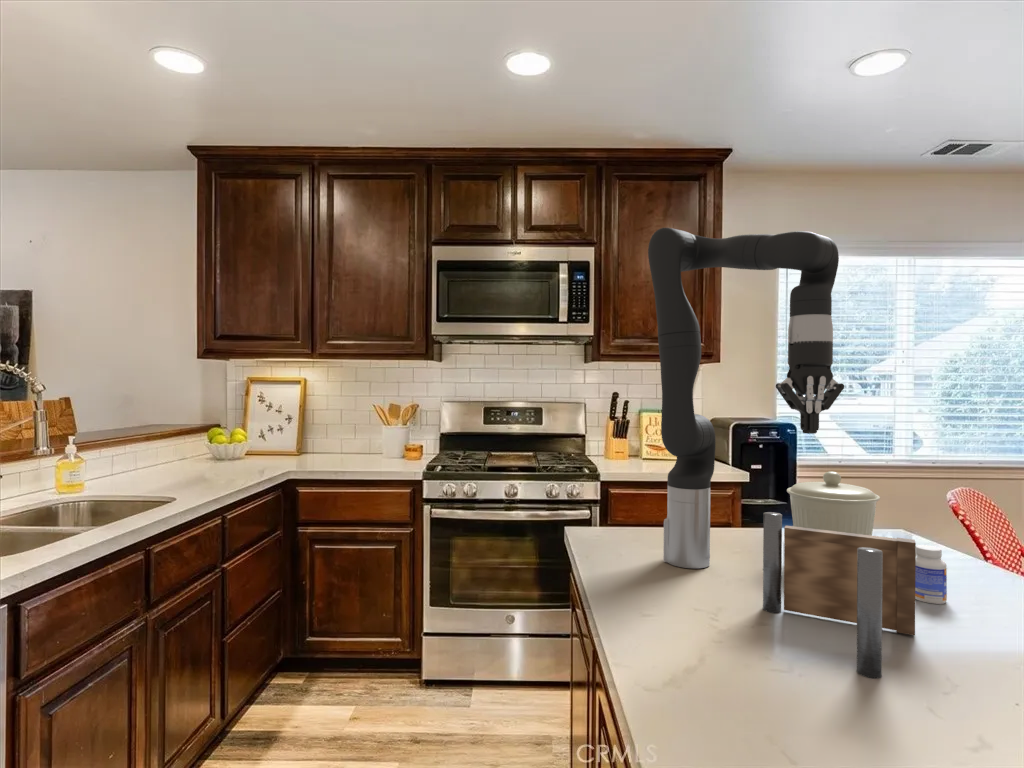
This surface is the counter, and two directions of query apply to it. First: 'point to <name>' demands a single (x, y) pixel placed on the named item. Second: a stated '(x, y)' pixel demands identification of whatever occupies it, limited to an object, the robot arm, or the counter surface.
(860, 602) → the gate posts
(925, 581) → the pill bottle
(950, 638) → the counter surface
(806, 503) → the canister
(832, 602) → the gate leaf
